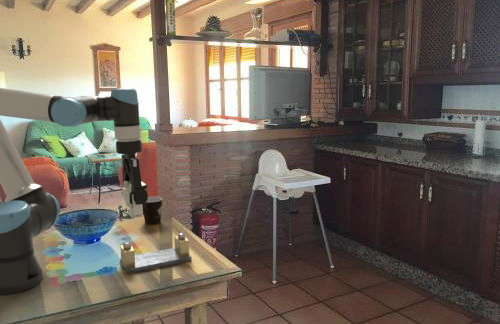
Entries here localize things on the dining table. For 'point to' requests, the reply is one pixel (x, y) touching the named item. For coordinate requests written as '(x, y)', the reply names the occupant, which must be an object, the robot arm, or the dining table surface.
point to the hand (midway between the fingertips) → (134, 209)
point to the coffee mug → (152, 210)
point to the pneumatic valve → (127, 197)
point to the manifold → (155, 256)
